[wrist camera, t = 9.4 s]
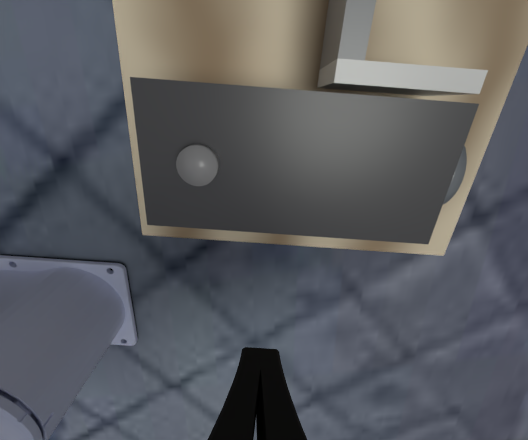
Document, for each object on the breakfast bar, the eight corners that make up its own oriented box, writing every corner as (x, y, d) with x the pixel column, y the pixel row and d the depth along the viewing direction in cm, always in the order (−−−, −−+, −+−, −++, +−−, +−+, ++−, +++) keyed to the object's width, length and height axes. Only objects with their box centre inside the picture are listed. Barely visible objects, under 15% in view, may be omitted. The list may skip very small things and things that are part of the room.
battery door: (316, 87, 14) (333, 82, 10) (331, -20, 12) (357, -71, 8) (425, 96, 14) (479, 93, 10) (456, -10, 12) (532, -56, 8)
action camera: (177, 194, 16) (141, 230, 12) (170, 84, 14) (121, 74, 9) (401, 209, 17) (453, 252, 12) (432, 104, 14) (514, 105, 9)
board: (149, 227, 19) (142, 234, 17) (120, -33, 13) (106, -46, 12) (433, 246, 19) (443, 255, 18) (525, 0, 13) (548, -9, 12)
